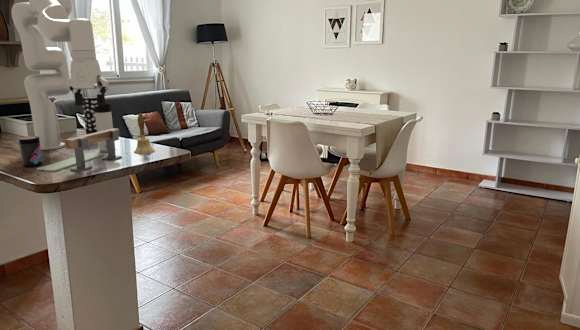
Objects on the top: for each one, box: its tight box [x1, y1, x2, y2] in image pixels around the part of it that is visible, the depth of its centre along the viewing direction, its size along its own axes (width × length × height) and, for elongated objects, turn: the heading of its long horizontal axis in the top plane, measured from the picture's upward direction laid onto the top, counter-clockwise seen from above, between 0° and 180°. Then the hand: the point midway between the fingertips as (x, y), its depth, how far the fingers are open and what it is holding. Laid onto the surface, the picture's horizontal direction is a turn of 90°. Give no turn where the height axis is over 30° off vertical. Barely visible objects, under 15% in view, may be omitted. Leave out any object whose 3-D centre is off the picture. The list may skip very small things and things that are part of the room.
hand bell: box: [133, 113, 155, 155], centre depth 181 cm, size 8×8×16 cm
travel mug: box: [94, 103, 116, 154], centre depth 181 cm, size 6×7×20 cm
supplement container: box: [17, 135, 44, 168], centre depth 161 cm, size 7×7×10 cm
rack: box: [66, 129, 123, 173], centre depth 161 cm, size 6×21×11 cm, turn 162°
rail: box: [64, 127, 121, 150], centre depth 160 cm, size 3×24×3 cm, turn 162°
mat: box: [36, 152, 107, 172], centre depth 166 cm, size 8×26×1 cm, turn 162°
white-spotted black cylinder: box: [82, 96, 98, 135], centre depth 207 cm, size 8×8×20 cm
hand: (90, 105), depth 157 cm, fingers open, 9 cm apart
